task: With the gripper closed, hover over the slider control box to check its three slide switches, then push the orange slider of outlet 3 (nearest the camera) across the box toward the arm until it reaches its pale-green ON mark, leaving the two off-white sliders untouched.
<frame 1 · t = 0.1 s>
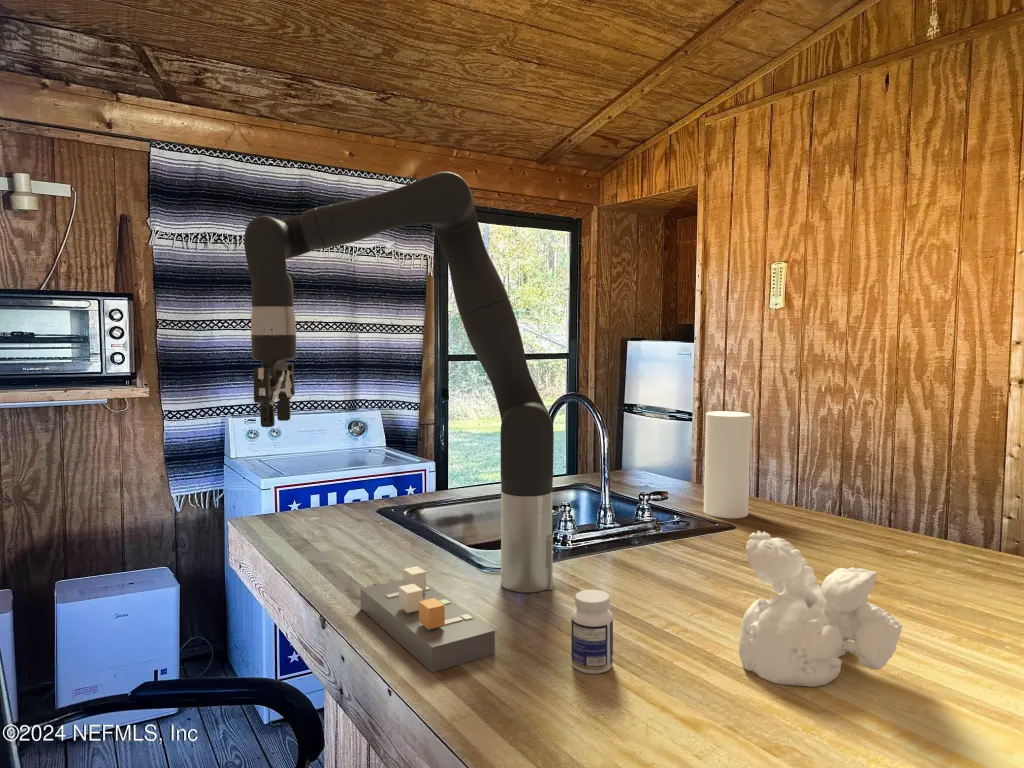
hand: (276, 423, 129), 29 cm above the worktop, fingers open, 8 cm apart
switch 1: (414, 579, 118), point 5 cm above the worktop, slide at 4.0 cm
switch 2: (410, 597, 110), point 6 cm above the worktop, slide at 0.0 cm
slider control box: (422, 629, 111), on the worktop
tall pillar cylinder: (725, 513, 181), on the worktop
pill bottle: (591, 666, 100), on the worktop
switch 3: (431, 613, 104), point 5 cm above the worktop, slide at 0.0 cm
white plaster sculpture: (814, 665, 100), on the worktop
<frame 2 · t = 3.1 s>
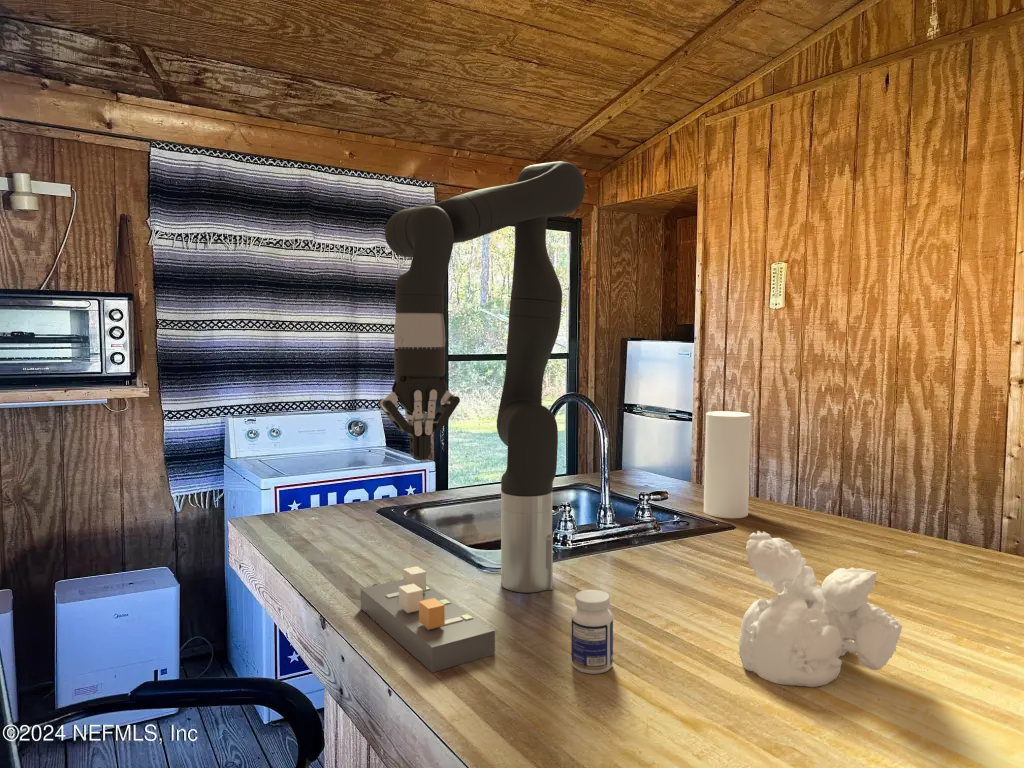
hand: (420, 459, 109), 27 cm above the worktop, fingers closed
nothing on the worktop moved.
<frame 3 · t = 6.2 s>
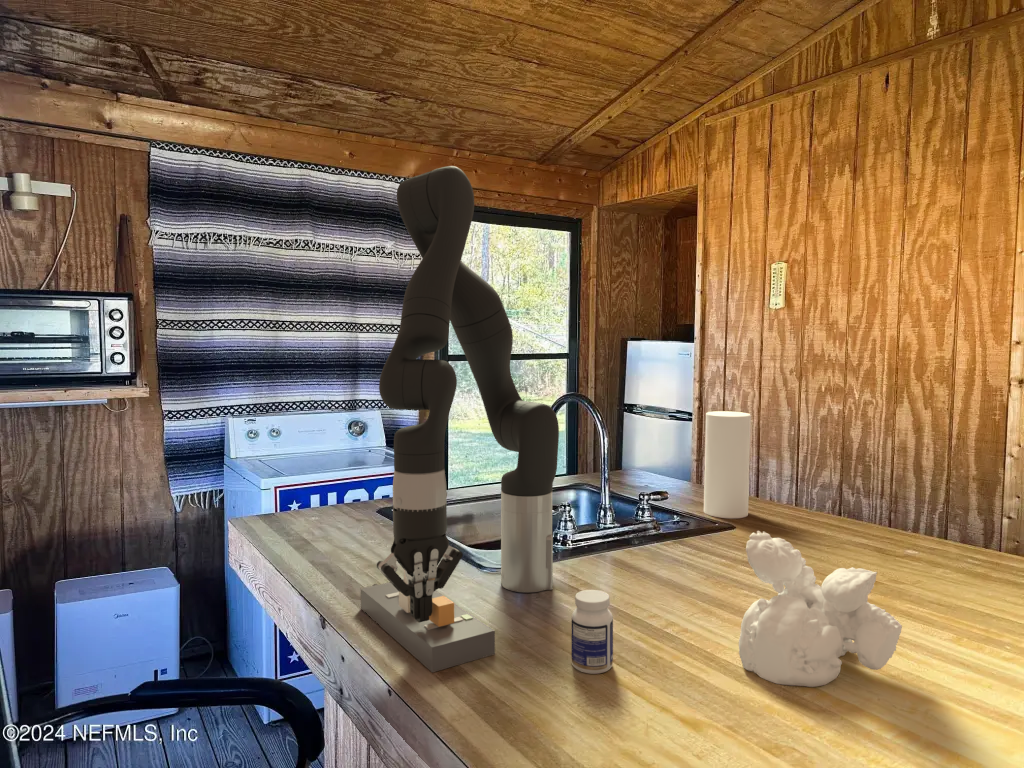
hand: (421, 619, 103), 5 cm above the worktop, fingers closed
switch 3: (441, 611, 105), point 5 cm above the worktop, slide at 1.6 cm, touching gripper
everything else where it was.
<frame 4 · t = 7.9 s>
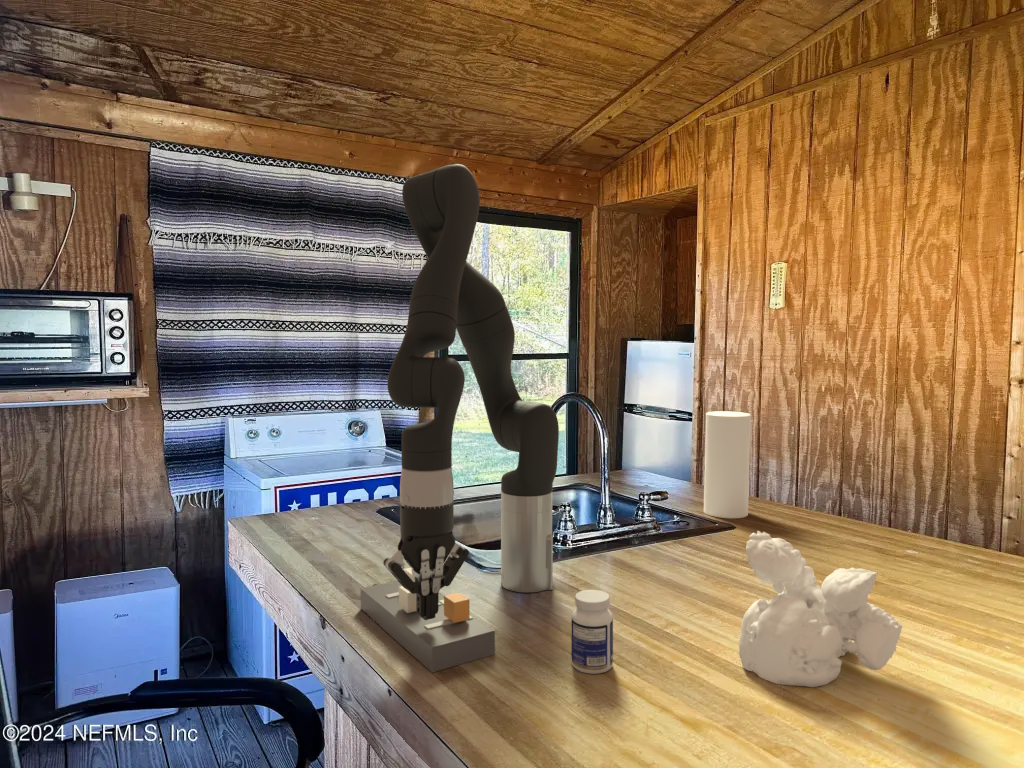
hand: (427, 617, 103), 5 cm above the worktop, fingers closed
switch 3: (456, 607, 106), point 6 cm above the worktop, slide at 4.1 cm
everything else where it was.
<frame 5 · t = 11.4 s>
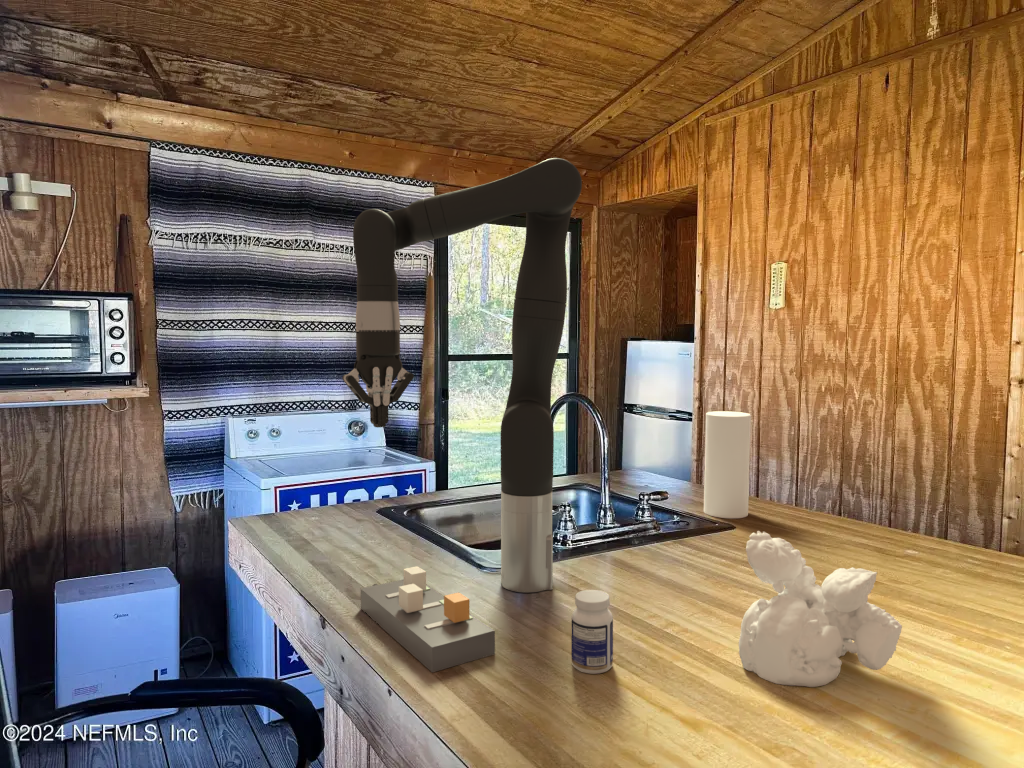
hand: (379, 426, 127), 29 cm above the worktop, fingers closed
nothing on the worktop moved.
at the end: switch 3 slide at 4.1 cm; switch 2 slide at 0.0 cm; switch 1 slide at 4.0 cm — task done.
